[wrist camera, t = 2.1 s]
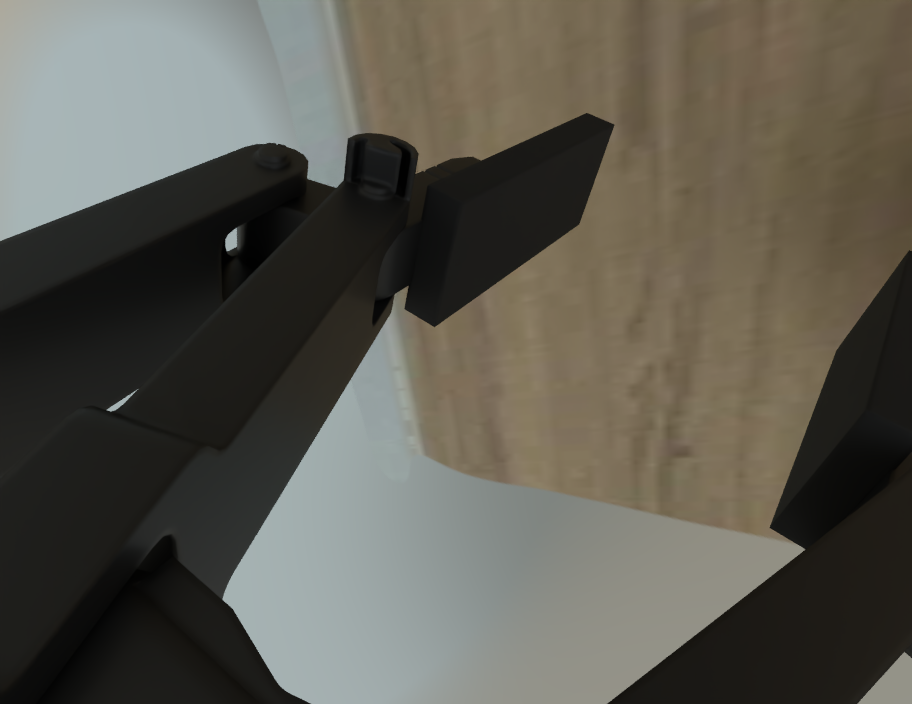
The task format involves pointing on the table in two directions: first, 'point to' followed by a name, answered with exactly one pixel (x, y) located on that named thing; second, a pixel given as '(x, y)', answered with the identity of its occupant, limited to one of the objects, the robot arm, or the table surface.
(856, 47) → the table surface
